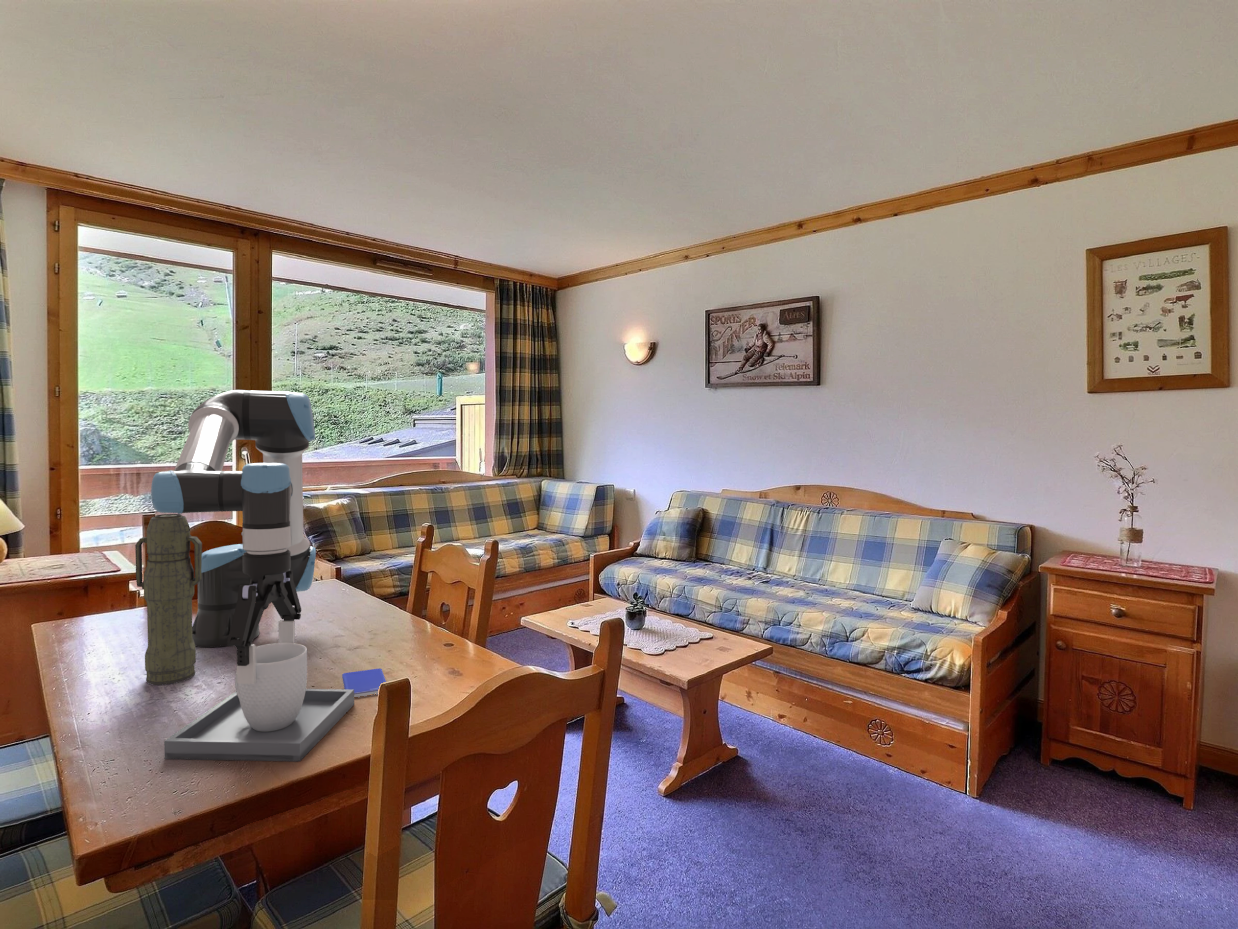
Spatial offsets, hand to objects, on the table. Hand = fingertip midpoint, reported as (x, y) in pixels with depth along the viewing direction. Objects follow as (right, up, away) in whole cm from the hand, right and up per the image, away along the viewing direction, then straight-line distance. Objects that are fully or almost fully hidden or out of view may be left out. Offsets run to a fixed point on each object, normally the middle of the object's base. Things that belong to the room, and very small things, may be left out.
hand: (267, 668), depth 116 cm
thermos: (-33, -9, +23) cm, 42 cm away
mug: (0, -10, +1) cm, 10 cm away
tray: (0, -11, +1) cm, 11 cm away
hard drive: (+9, -11, +22) cm, 26 cm away
